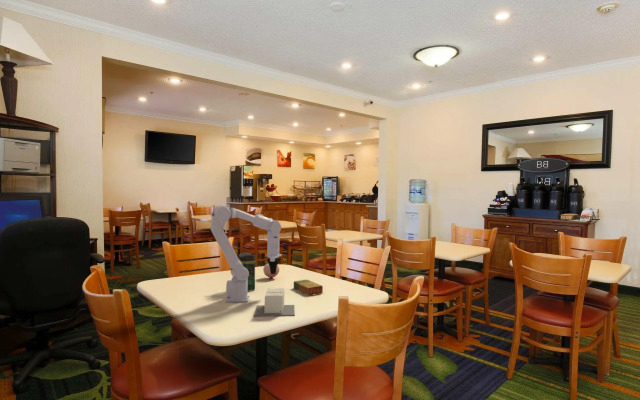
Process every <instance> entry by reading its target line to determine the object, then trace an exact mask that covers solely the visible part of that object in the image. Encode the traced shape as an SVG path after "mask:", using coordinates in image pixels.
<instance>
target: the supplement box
mask: <svg viewBox="0 0 640 400" xmlns="http://www.w3.org/2000/svg"><path fill="white" fill-rule="evenodd" d="M264 305H265V308H264V313H265V314H282V313H283V308H284V305H285V287H279V288H276V287H273V288H272V287H269V288H267V289H266V293H265V294H264Z"/></svg>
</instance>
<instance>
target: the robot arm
mask: <svg viewBox="0 0 640 400" xmlns="http://www.w3.org/2000/svg"><path fill="white" fill-rule="evenodd" d="M210 216H211V220H210V231H211V233H212V235H213V236H214V237H213V238H214V239H215V240H216V243H218V246H219V248H220V250H221V252H222V254H223V255H224V257H225V259H226V261H227V263H228V266H229V268H230V274H231V276H232V277H231V280H227V281H226V284H225V286H226V287H225V294H226V295H225V303H235V302H236V303H239V302H242V303H243V302H246V303H247V302H248V301H249V298H250V295H249V294H248V292H249V291H248V279H247V278H248V276H249V271H248V270H247V269H246V268H245V267H244V266H243V265H242V263H241V262H240V260H239V259H238V255H237V253H236V251H235V249H234V247H233V246H232V243H231V242H230V240H229V238H228V236H227V233H226V232H225V231H224V227H225V225H226V222H228V221H229V219H235V218H239V219H241V220H244V221H247V222H250V223H251V224H252V226H253V227H256V228H257V229H258V228H259V229H261V230H265V231H267V236H266V237H267V244H266V246H267V247H266V249H267V252H266V253H267V254H266V257H267V259H266V262H267V264H268V263H269V267H270V272H271V274H275V273H276V268H277V265H278V263H279V262H280V257H283V255H282V254H281V253H280V232H281V230H282V225H281V222H280V221H278V220H274V219H273V218H272V217H266V216H264V214H263V213H260V214H258V213H257V214H255V215H253V214H250V213H248V212H245V211H243V210H240V209H237V208H235V207H229V206H224V205H218V206H215V207H214V208H213V211H212V212H211V215H210Z"/></svg>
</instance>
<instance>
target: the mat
mask: <svg viewBox="0 0 640 400" xmlns="http://www.w3.org/2000/svg"><path fill="white" fill-rule="evenodd" d="M264 308H265V304H264V305H260V304H259V305H256V308H255V311H254V314H253V317H295V315H296V313H295V310H296V309H295V304H284V308H283V313H282V314H265V313H264Z"/></svg>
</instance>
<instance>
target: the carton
mask: <svg viewBox="0 0 640 400" xmlns="http://www.w3.org/2000/svg"><path fill="white" fill-rule="evenodd" d="M293 289H294V290H296V289H297V290H296V291H298V290H299V291H298V292H300V291H301V292H300V293H302V292H303V293H302V294H304V293H305V294H304V295H306V294H307V295H306V296H308V295H310V296H314V295H313V294H316V295H320V294H319V293H322V294H323V292H324V290H323V285H322V284H319V283H316V282H314V281H311V280H309V279H301V280H294V281H293Z"/></svg>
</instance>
